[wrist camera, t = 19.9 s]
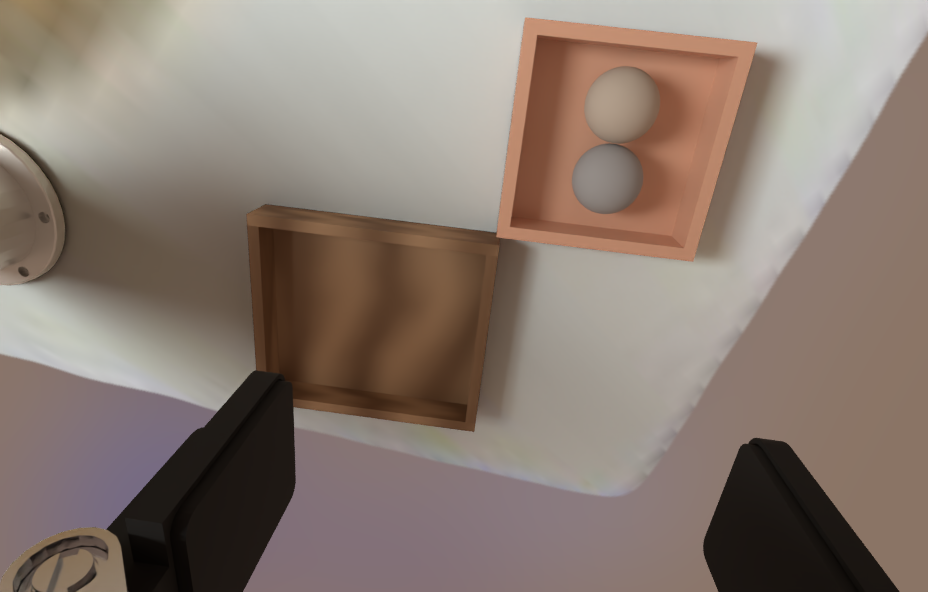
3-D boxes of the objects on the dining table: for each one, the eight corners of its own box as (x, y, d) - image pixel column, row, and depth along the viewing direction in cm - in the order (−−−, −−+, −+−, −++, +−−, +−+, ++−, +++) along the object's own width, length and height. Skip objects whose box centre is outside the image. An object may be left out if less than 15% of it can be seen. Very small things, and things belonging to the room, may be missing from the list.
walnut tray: (273, 382, 45) (258, 402, 42) (265, 204, 39) (246, 214, 36) (476, 409, 44) (474, 431, 42) (500, 233, 38) (499, 245, 35)
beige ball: (586, 62, 33) (599, 61, 29) (656, 70, 33) (679, 70, 29) (573, 135, 34) (583, 143, 30) (640, 142, 34) (659, 152, 30)
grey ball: (574, 136, 35) (585, 143, 30) (640, 143, 34) (660, 152, 30) (562, 201, 36) (571, 217, 32) (625, 209, 36) (642, 225, 32)
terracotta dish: (497, 223, 38) (496, 237, 35) (523, 23, 33) (525, 17, 30) (677, 245, 37) (693, 261, 34) (732, 46, 32) (757, 42, 29)
